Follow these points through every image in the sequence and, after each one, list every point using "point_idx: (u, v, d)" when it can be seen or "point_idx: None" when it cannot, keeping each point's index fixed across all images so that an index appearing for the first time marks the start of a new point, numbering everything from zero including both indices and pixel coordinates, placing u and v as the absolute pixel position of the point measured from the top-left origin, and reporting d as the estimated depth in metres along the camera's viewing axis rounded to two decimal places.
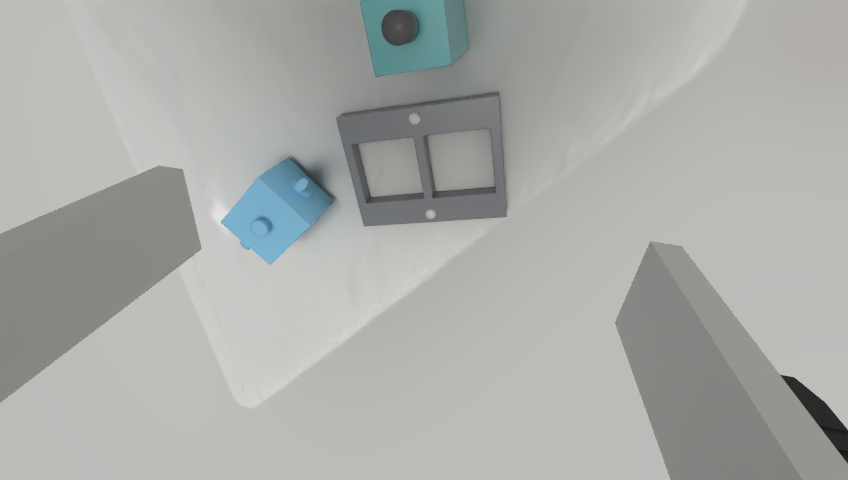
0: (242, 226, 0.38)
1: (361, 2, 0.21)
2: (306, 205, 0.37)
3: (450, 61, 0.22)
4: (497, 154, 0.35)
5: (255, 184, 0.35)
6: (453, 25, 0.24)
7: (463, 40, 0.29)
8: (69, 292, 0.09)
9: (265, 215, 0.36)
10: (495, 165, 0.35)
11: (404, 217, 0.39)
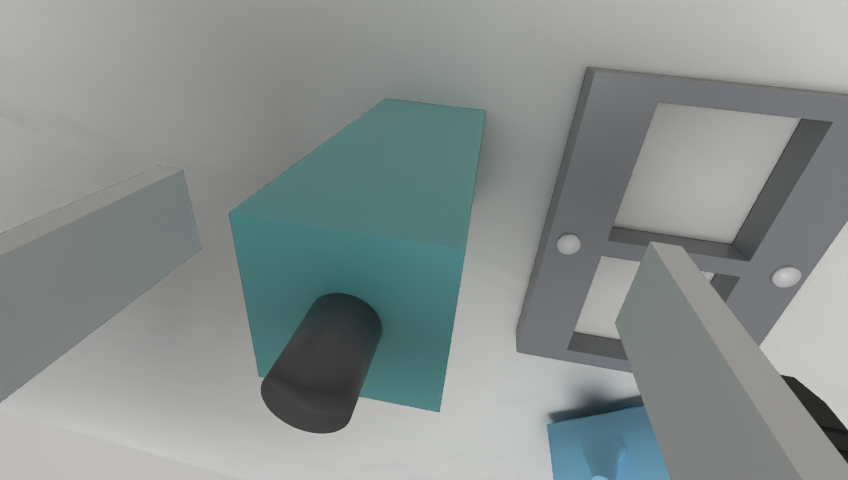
0: None
1: None
2: (640, 474, 0.20)
3: (456, 247, 0.07)
4: (729, 99, 0.14)
5: None
6: (400, 173, 0.10)
7: (460, 128, 0.14)
8: (69, 293, 0.09)
9: None
10: (756, 108, 0.14)
11: (757, 323, 0.19)
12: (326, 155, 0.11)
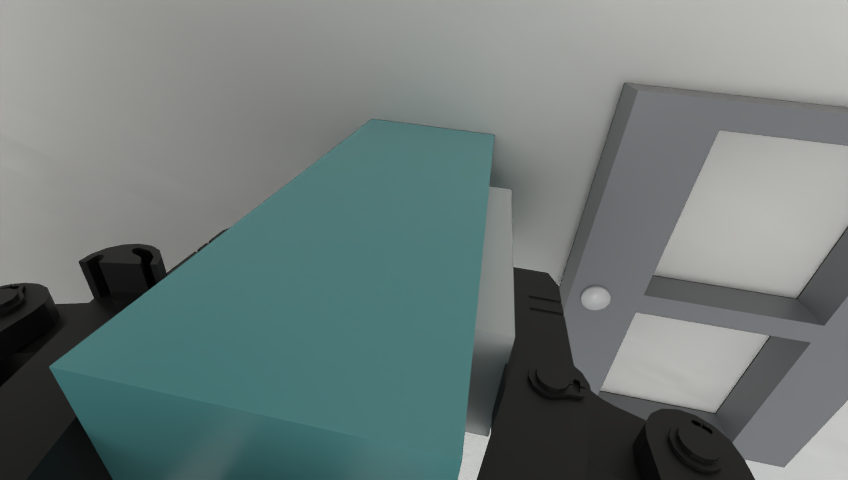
0: None
1: None
2: None
3: (445, 448, 0.04)
4: (816, 128, 0.11)
5: None
6: (370, 253, 0.07)
7: (463, 163, 0.11)
8: None
9: None
10: None
11: (828, 396, 0.15)
12: (268, 219, 0.07)
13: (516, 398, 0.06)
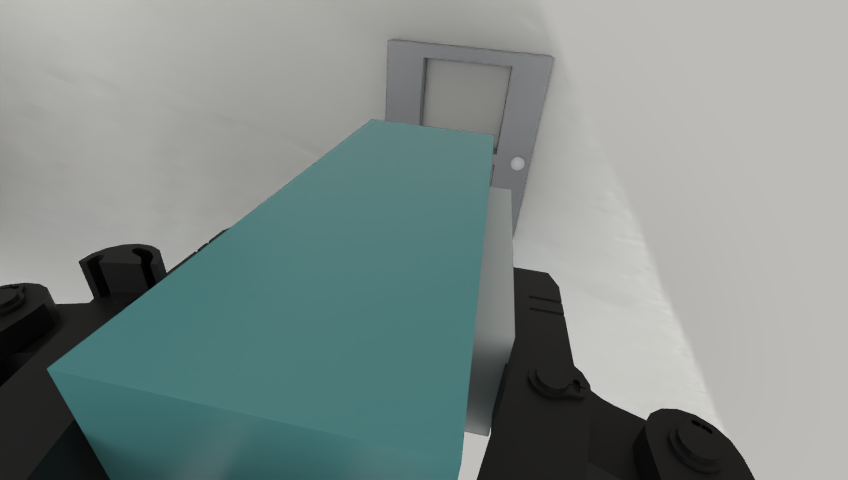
0: None
1: None
2: None
3: (445, 450, 0.04)
4: (458, 55, 0.26)
5: None
6: (369, 254, 0.07)
7: (463, 164, 0.11)
8: None
9: None
10: (473, 60, 0.26)
11: (513, 197, 0.31)
12: (267, 220, 0.07)
13: (516, 398, 0.06)
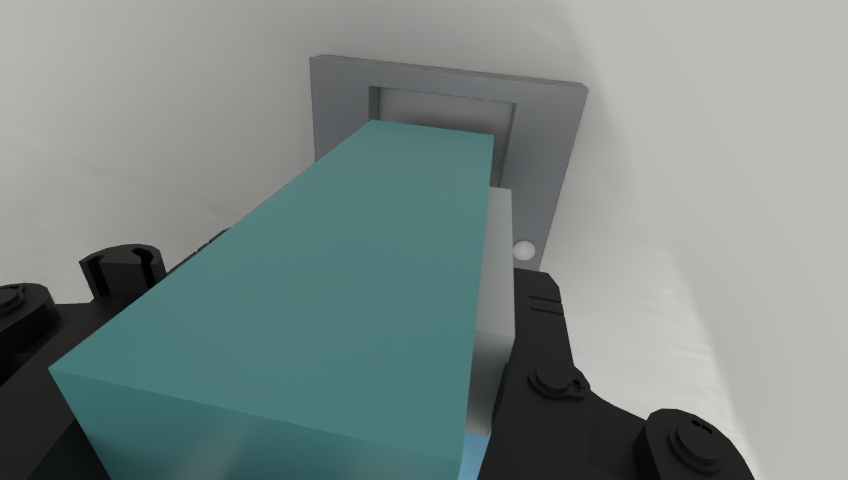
0: None
1: None
2: None
3: (445, 450, 0.04)
4: (426, 83, 0.16)
5: None
6: (370, 254, 0.07)
7: (463, 164, 0.11)
8: None
9: None
10: (450, 91, 0.16)
11: None
12: (267, 220, 0.07)
13: (516, 398, 0.06)
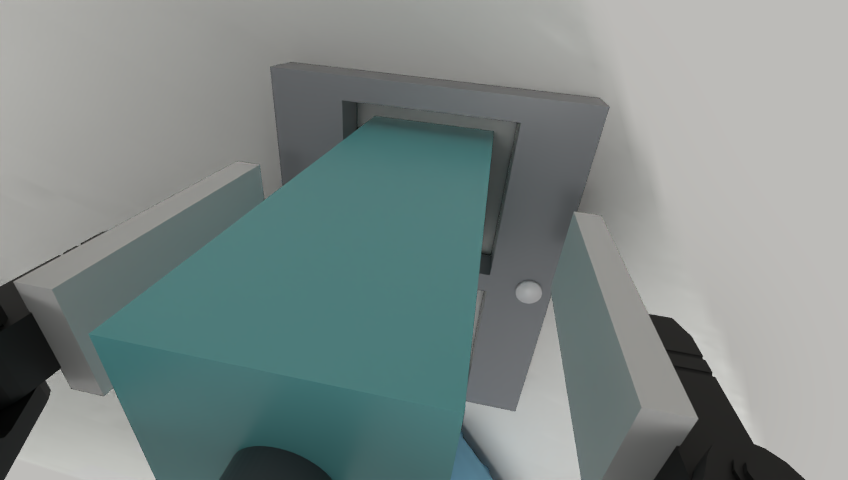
0: None
1: None
2: None
3: (449, 403, 0.04)
4: (411, 97, 0.13)
5: None
6: (377, 238, 0.07)
7: (463, 157, 0.12)
8: None
9: None
10: (440, 108, 0.13)
11: (520, 341, 0.17)
12: (279, 208, 0.08)
13: None
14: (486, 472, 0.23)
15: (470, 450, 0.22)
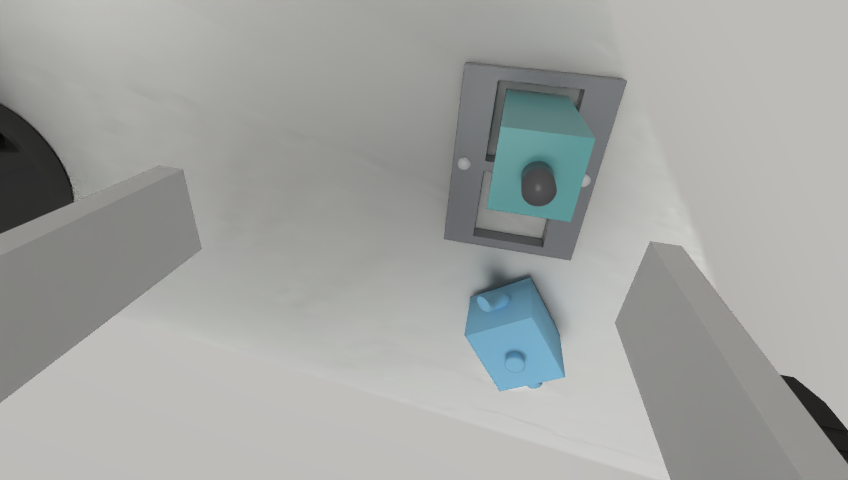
0: (510, 376, 0.35)
1: (499, 209, 0.22)
2: (513, 308, 0.34)
3: (591, 138, 0.19)
4: (532, 78, 0.28)
5: (470, 342, 0.34)
6: (550, 118, 0.22)
7: (561, 103, 0.26)
8: (69, 292, 0.09)
9: (505, 351, 0.34)
10: (546, 83, 0.28)
11: (576, 212, 0.32)
12: (511, 112, 0.23)
13: None
14: None
15: (539, 296, 0.37)
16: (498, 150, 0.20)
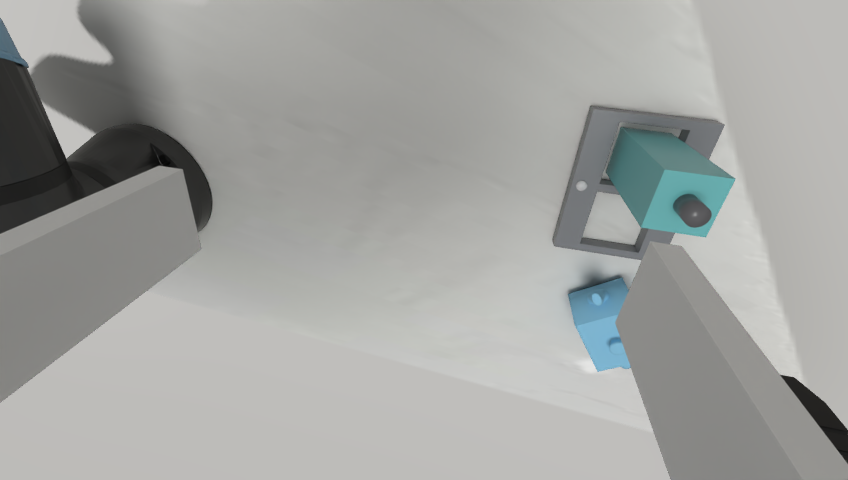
0: (609, 359, 0.43)
1: (651, 228, 0.29)
2: (615, 303, 0.41)
3: (731, 178, 0.26)
4: (648, 120, 0.35)
5: (579, 331, 0.42)
6: (686, 160, 0.29)
7: (676, 142, 0.34)
8: (69, 292, 0.09)
9: (608, 338, 0.41)
10: (659, 124, 0.35)
11: None
12: (654, 153, 0.30)
13: None
14: None
15: None
16: (659, 185, 0.27)
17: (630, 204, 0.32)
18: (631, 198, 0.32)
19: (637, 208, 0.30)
